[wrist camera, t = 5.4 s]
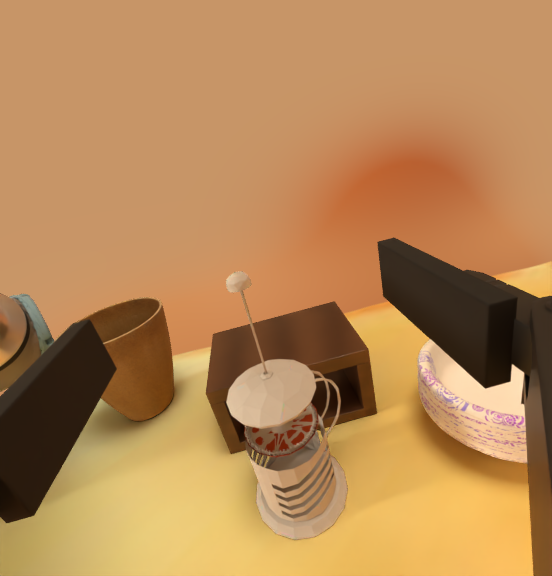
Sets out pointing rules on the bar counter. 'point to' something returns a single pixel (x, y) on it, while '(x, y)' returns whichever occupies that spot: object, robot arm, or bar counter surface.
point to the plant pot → (136, 356)
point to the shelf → (302, 348)
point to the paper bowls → (473, 406)
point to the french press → (287, 441)
